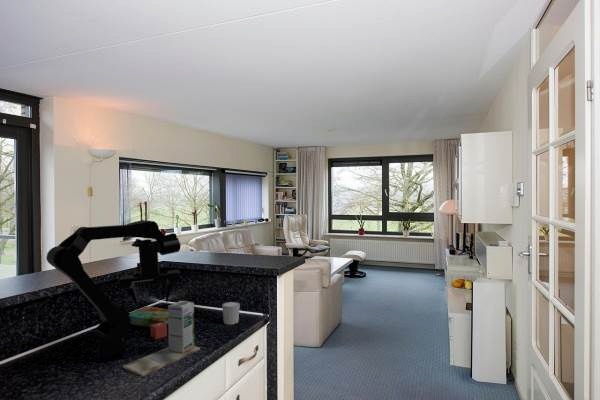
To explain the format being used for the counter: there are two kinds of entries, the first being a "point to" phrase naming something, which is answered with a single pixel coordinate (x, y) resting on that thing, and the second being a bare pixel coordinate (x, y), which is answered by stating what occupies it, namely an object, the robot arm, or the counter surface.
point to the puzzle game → (149, 316)
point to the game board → (157, 360)
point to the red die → (158, 330)
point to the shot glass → (231, 312)
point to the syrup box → (181, 326)
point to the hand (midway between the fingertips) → (152, 304)
